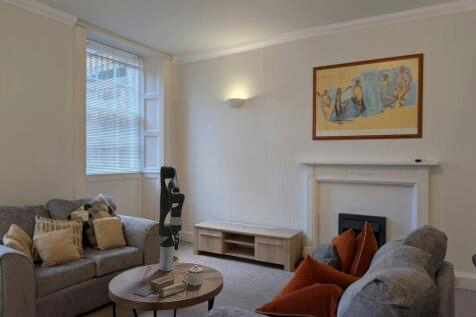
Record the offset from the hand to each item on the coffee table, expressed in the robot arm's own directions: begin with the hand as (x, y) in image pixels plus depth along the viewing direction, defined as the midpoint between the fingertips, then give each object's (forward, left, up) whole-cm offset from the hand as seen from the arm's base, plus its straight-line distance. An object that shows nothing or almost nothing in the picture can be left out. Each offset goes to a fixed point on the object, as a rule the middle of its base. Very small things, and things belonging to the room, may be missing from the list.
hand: (175, 248), depth 217 cm
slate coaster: (-2, -21, -23) cm, 31 cm away
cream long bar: (+10, -9, -23) cm, 27 cm away
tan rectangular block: (-1, -9, -24) cm, 25 cm away
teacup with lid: (+8, +9, -23) cm, 26 cm away
